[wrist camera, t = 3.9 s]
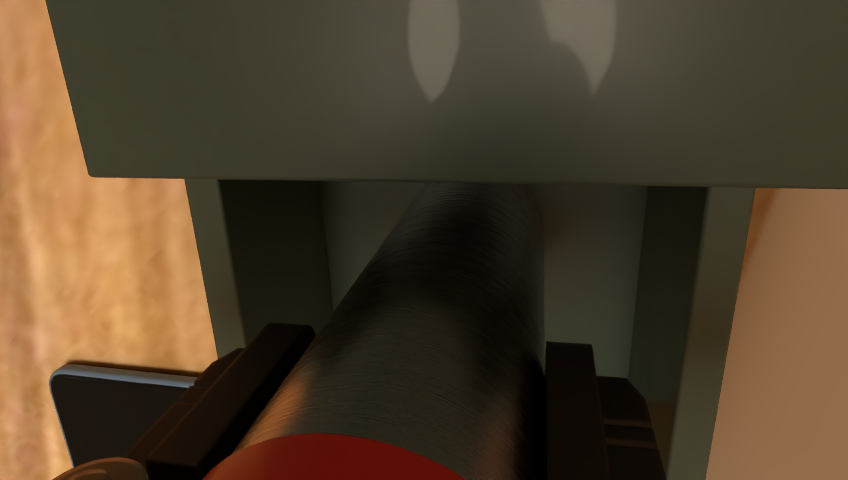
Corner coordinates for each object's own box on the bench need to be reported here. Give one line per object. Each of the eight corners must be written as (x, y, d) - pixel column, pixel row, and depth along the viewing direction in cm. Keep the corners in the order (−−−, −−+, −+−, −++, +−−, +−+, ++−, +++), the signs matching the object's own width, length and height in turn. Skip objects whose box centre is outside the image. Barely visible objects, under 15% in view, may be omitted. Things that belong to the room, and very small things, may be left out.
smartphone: (38, 369, 24) (385, 406, 21) (54, 358, 25) (391, 392, 22) (79, 506, 27) (393, 556, 24) (93, 492, 28) (398, 539, 25)
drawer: (648, 537, 21) (691, 754, 15) (327, 497, 24) (250, 669, 17) (712, 63, 15) (827, 95, 9) (276, 73, 18) (130, 103, 11)
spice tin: (402, 158, 17) (95, 467, 5) (550, 160, 16) (569, 525, 4) (409, 290, 18) (180, 752, 7) (545, 297, 17) (547, 836, 6)
